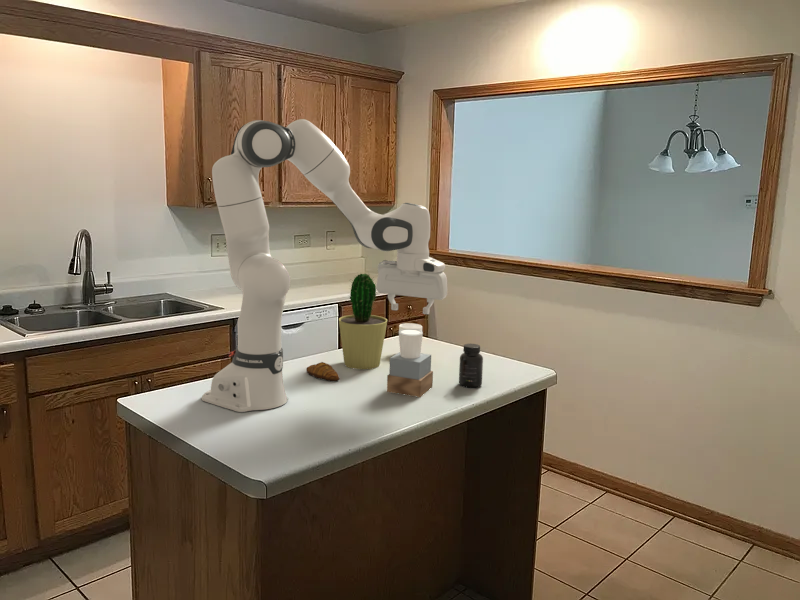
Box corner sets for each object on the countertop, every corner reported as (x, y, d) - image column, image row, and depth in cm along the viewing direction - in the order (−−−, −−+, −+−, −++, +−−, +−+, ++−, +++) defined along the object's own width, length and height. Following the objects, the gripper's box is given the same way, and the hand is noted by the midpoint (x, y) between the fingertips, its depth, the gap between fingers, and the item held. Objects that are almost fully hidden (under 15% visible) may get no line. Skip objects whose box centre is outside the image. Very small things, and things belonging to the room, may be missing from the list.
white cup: (413, 358, 218) (414, 329, 216) (393, 354, 222) (394, 326, 220) (425, 353, 224) (426, 325, 223) (406, 350, 229) (407, 322, 227)
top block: (389, 375, 183) (389, 357, 182) (401, 367, 191) (402, 350, 190) (419, 379, 179) (419, 362, 178) (430, 371, 188) (431, 354, 187)
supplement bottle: (459, 380, 196) (461, 341, 194) (482, 382, 195) (484, 343, 193) (457, 387, 190) (459, 347, 187) (480, 389, 188) (483, 349, 186)
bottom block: (386, 392, 184) (387, 375, 183) (400, 382, 193) (401, 366, 192) (420, 398, 180) (420, 380, 179) (432, 387, 189) (433, 371, 188)
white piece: (420, 360, 181) (421, 335, 179) (395, 358, 182) (396, 334, 180) (423, 352, 187) (424, 329, 186) (400, 351, 188) (400, 327, 187)
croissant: (298, 375, 197) (298, 359, 196) (315, 371, 202) (315, 355, 201) (328, 385, 188) (328, 369, 187) (345, 380, 193) (346, 364, 192)
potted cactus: (372, 374, 199) (374, 277, 194) (328, 366, 206) (330, 272, 200) (394, 362, 213) (397, 271, 207) (353, 355, 219) (355, 267, 214)
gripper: (373, 260, 181) (371, 309, 183) (443, 267, 173) (440, 318, 176) (382, 258, 187) (380, 305, 189) (450, 264, 179) (447, 314, 182)
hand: (410, 311), depth 182 cm, fingers open, 8 cm apart
